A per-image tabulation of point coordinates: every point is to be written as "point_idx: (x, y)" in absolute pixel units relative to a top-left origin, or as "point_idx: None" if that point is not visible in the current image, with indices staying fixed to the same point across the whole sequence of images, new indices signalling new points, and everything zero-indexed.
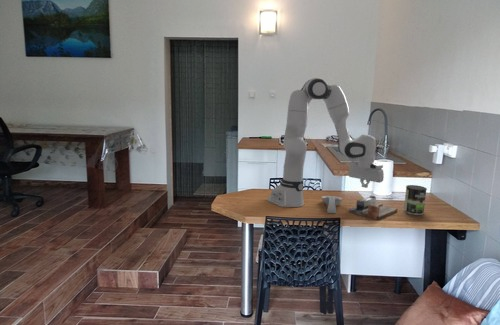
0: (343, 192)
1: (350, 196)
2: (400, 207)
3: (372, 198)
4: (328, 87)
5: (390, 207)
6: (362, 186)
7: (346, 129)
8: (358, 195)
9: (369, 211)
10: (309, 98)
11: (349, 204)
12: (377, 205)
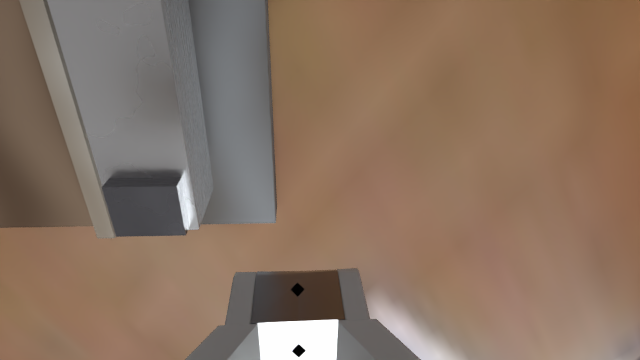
0: (621, 329)
1: (530, 284)
2: (55, 332)
3: (95, 141)
4: None
5: (7, 225)
6: (335, 273)
7: None
8: (480, 348)
9: None
10: None
11: (432, 28)
12: (66, 125)
